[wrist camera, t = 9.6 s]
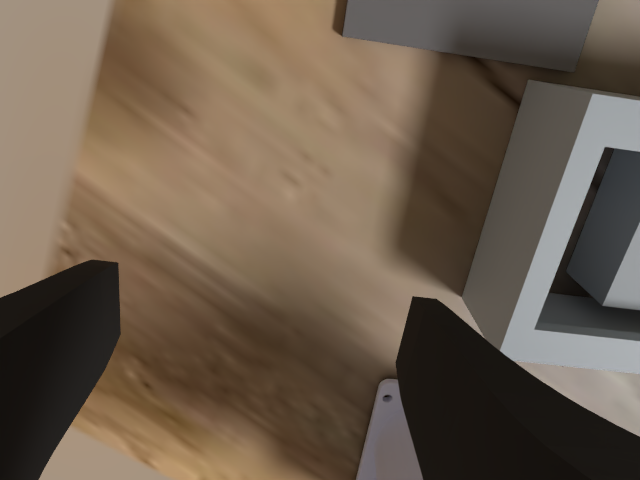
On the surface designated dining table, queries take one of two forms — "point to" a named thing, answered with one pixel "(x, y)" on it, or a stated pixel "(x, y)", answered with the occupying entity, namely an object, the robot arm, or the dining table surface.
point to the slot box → (563, 234)
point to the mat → (479, 28)
